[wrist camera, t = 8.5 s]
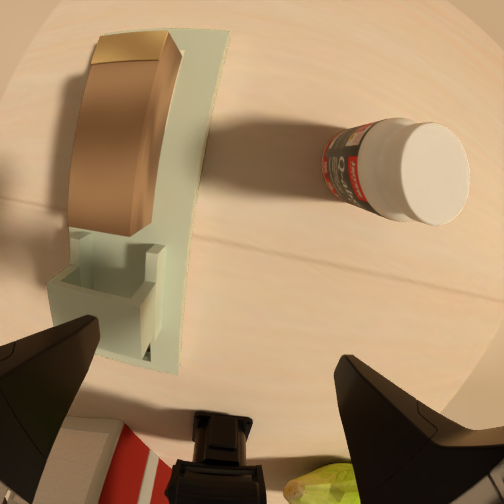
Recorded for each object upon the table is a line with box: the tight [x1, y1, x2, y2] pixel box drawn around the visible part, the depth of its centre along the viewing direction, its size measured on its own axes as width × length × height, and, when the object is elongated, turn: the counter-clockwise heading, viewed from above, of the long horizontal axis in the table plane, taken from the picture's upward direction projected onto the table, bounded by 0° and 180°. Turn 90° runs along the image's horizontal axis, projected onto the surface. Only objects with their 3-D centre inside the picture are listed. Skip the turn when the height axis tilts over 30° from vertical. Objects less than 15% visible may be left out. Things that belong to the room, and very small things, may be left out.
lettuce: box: [283, 463, 361, 504], centre depth 27 cm, size 13×23×12 cm, turn 49°
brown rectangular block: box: [68, 30, 182, 237], centre depth 14 cm, size 12×4×4 cm, turn 169°
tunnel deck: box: [46, 28, 230, 375], centre depth 16 cm, size 28×10×7 cm, turn 169°
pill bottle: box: [322, 118, 470, 226], centre depth 14 cm, size 6×6×10 cm
